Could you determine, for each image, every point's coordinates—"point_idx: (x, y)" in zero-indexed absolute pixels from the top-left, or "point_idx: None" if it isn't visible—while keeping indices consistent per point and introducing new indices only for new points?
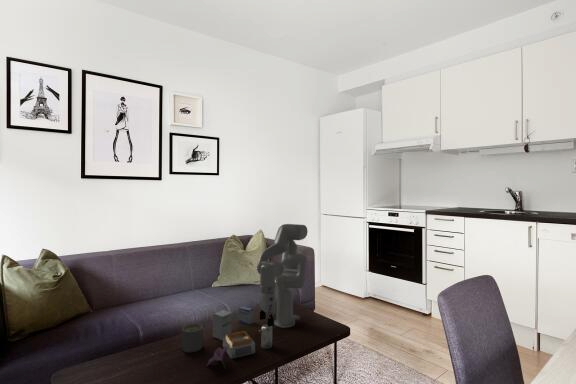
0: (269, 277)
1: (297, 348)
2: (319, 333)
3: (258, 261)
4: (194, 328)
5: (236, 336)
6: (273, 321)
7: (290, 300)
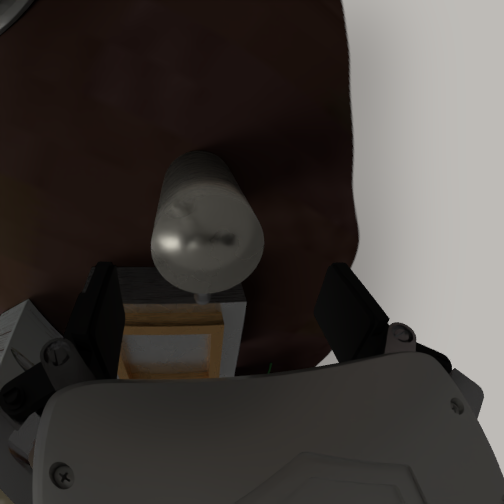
0: None
1: (327, 46)
2: None
3: None
4: None
5: (127, 349)
6: (364, 290)
7: None
